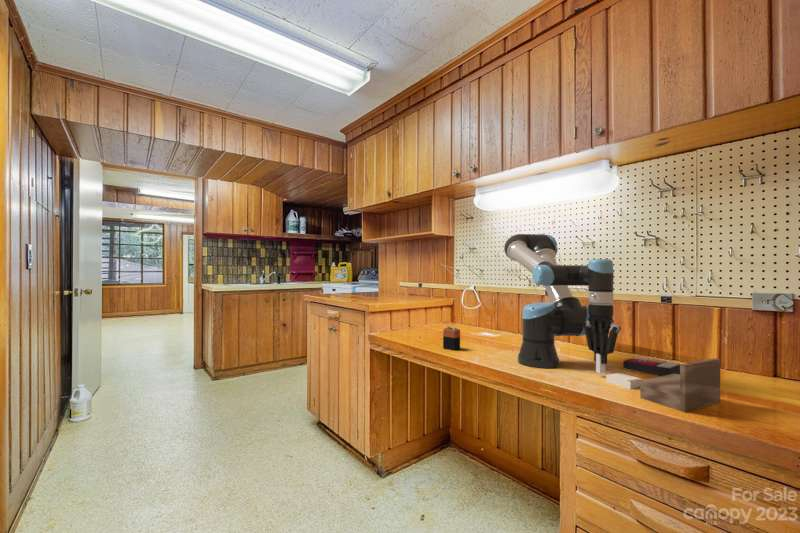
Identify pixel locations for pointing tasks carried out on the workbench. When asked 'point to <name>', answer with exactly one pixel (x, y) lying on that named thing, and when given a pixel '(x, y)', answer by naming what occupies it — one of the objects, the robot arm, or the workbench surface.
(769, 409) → the workbench surface
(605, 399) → the workbench surface
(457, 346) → the battery
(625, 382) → the tile
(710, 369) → the brown wooden l-shaped block
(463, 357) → the workbench surface
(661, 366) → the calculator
